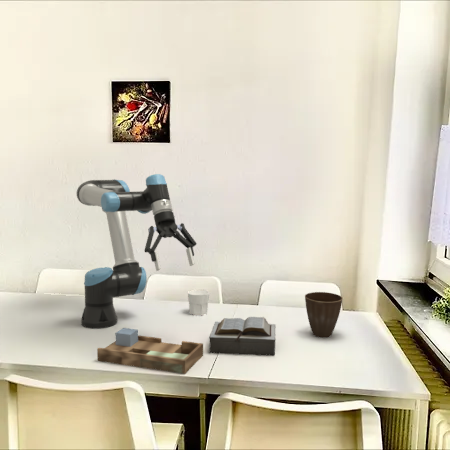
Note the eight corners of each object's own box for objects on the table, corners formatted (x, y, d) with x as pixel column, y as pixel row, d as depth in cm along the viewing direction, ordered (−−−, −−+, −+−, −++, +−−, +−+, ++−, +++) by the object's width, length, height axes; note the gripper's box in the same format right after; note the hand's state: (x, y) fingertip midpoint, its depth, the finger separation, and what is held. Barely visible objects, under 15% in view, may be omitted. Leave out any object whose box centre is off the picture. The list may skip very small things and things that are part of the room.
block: (115, 344, 186) (115, 332, 186) (123, 339, 192) (123, 327, 191) (130, 346, 184) (130, 334, 184) (138, 341, 190) (138, 329, 189)
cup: (208, 316, 231) (209, 295, 230) (186, 316, 231) (186, 294, 230) (209, 310, 241) (210, 289, 240) (188, 309, 241) (188, 289, 240)
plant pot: (347, 334, 208) (349, 296, 206) (328, 344, 198) (329, 303, 196) (316, 326, 219) (318, 290, 217) (296, 335, 208) (297, 296, 206)
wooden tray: (97, 361, 179) (97, 348, 178) (121, 344, 195) (121, 333, 194) (185, 373, 169) (185, 360, 168) (203, 355, 185) (203, 343, 184)
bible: (272, 361, 181) (272, 335, 179) (199, 353, 188) (200, 327, 187) (283, 340, 203) (284, 316, 202) (218, 332, 210) (218, 309, 209)
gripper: (135, 212, 184) (147, 268, 178) (196, 207, 196) (209, 260, 191) (128, 219, 190) (140, 274, 184) (188, 215, 203) (201, 266, 197)
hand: (175, 267), depth 188 cm, fingers open, 13 cm apart
